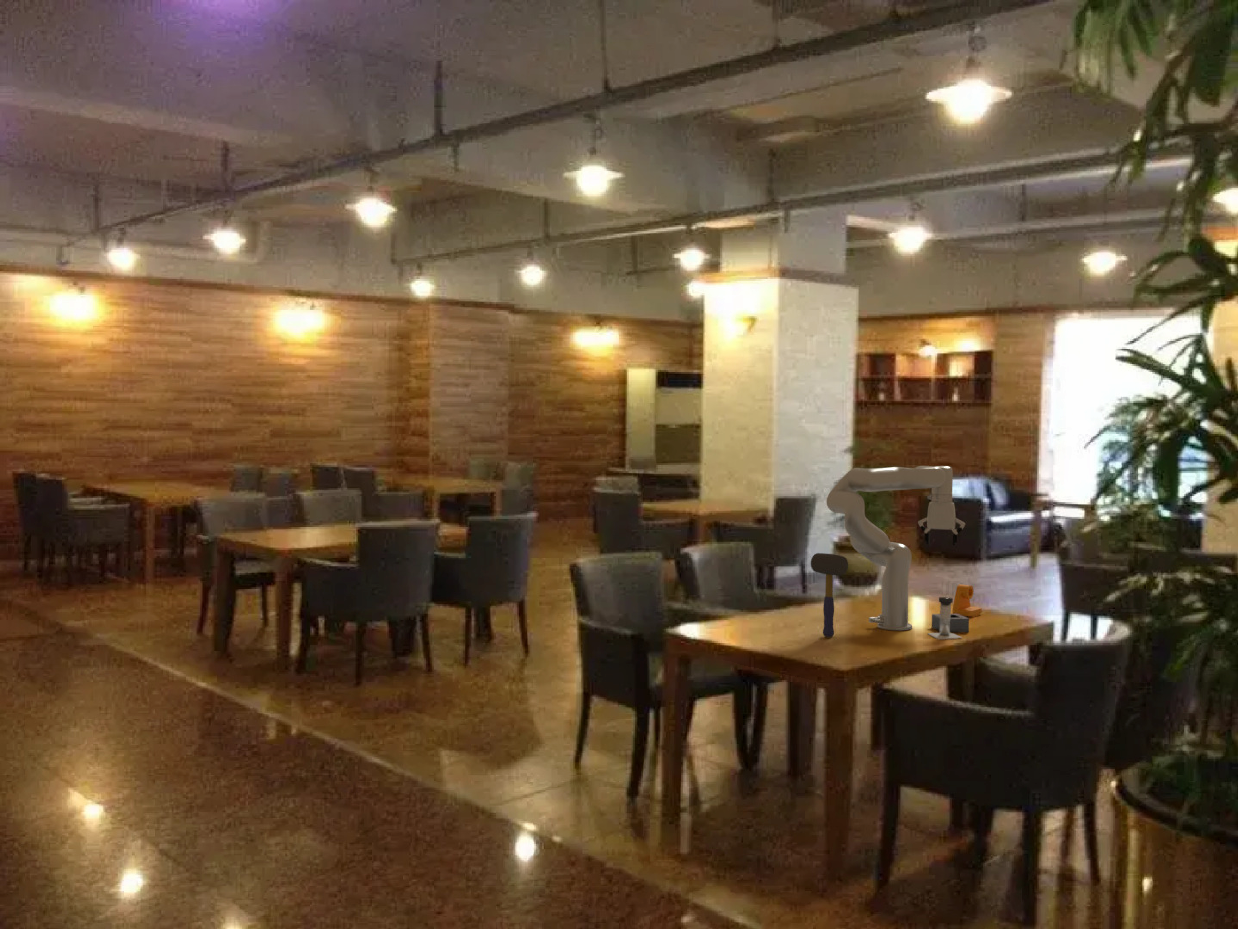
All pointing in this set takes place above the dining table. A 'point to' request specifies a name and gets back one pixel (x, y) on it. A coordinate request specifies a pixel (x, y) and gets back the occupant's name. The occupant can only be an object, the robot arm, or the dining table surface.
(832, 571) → the rubber mallet
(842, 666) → the dining table surface
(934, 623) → the chuck block
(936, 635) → the pad
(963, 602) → the bracket
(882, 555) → the robot arm
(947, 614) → the steel peg
